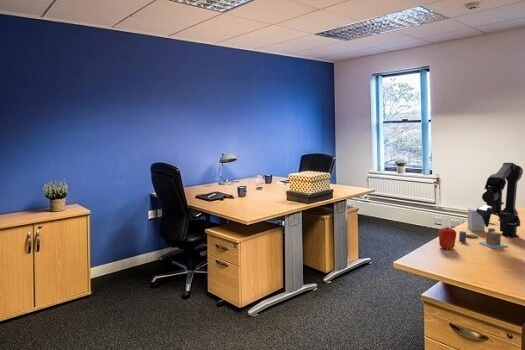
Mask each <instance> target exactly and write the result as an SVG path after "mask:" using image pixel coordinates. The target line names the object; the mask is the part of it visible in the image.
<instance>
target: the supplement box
mask: <svg viewBox="0 0 525 350" xmlns="http://www.w3.org/2000/svg"><path fill="white" fill-rule="evenodd" d="M477 208H478V207H474V208H473V207H470V208H469V207H468V208H467V209H468V210H467V229H468V230H470V231H472V232H485V230H486V229H485V227H486V226H485V223H484V220H483V218H482V216H481V215H479V214H478V213H477Z"/></svg>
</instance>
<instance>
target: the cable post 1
mask: <svg viewBox="0 0 525 350" xmlns="http://www.w3.org/2000/svg"><path fill="white" fill-rule="evenodd" d="M458 238H459V240H458V241H459V242H462V243H463V242H465V243H466V242H467V240H466V239H467V232H466V231H463V230H462V231H459V236H458Z"/></svg>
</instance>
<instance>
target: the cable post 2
mask: <svg viewBox="0 0 525 350" xmlns="http://www.w3.org/2000/svg"><path fill="white" fill-rule="evenodd" d="M487 228H488V229H487V232H493V231H494V232H496V228H491V227H487Z"/></svg>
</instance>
